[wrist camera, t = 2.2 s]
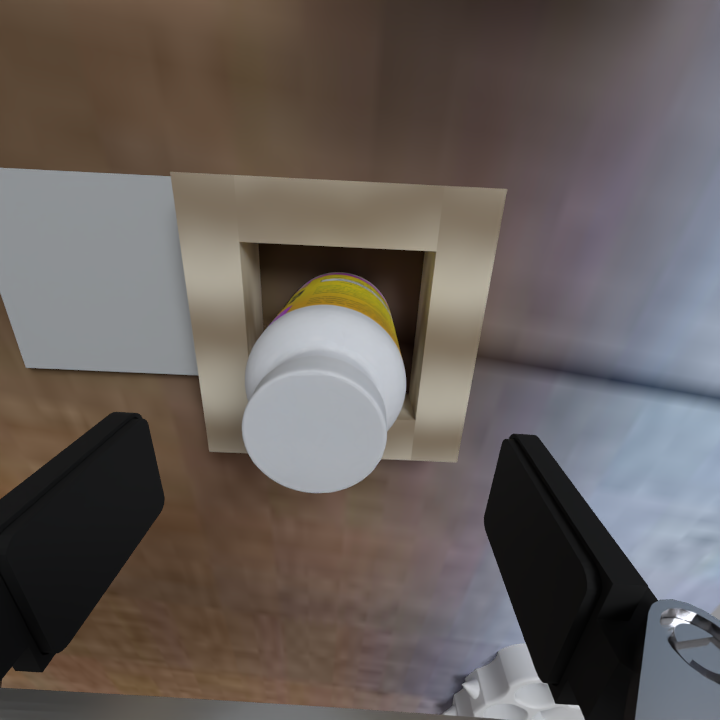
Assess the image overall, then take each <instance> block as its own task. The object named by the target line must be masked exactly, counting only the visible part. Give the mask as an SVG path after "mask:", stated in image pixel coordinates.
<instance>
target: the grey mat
mask: <svg viewBox="0 0 720 720" xmlns="http://www.w3.org/2000/svg"><path fill="white" fill-rule="evenodd" d="M0 293H1V296H2V299H3V302H4V305H5V308H6V310H7V313H8V316H9V319H10V322H11V325H12V328H13V331H14V334H15V337H16V340H17V343H18V346H19V348H20V351H21V354H22V357H23V360H24V363H25V366H26V368H45V369H68V370H90V371H112V372H134V373H157V374H179V375H199V374H198V367H197V360H196V353H195V346H194V339H193V332H192V325H191V318H190V310H189V303H188V296H187V289H186V282H185V275H184V268H183V261H182V254H181V246H180V239H179V232H178V225H177V218H176V211H175V204H174V197H173V190H172V182H171V177H170V176H150V175H130V174H111V173H91V172H71V171H51V170H31V169H12V168H0Z"/></svg>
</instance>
